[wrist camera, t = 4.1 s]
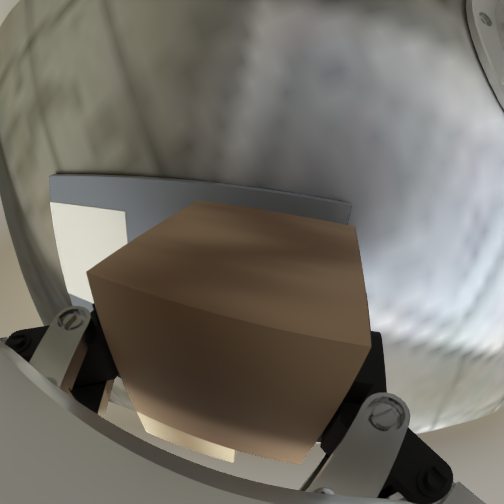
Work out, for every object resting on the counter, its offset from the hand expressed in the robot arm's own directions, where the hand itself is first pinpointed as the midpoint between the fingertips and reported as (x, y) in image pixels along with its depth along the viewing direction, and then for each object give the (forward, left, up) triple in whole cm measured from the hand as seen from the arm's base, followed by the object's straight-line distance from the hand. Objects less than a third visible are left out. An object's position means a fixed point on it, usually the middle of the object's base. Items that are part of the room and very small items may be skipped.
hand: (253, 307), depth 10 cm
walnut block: (0, 0, -2) cm, 2 cm away
